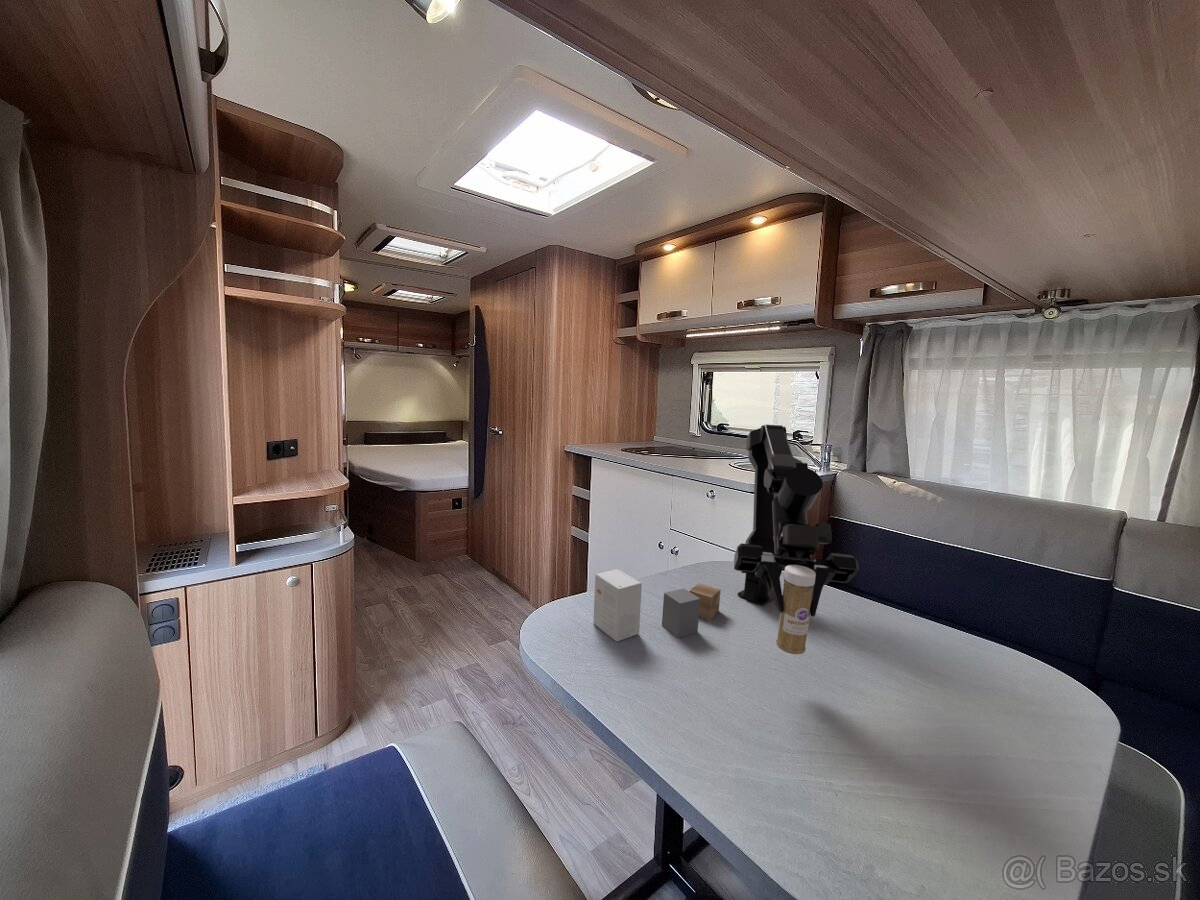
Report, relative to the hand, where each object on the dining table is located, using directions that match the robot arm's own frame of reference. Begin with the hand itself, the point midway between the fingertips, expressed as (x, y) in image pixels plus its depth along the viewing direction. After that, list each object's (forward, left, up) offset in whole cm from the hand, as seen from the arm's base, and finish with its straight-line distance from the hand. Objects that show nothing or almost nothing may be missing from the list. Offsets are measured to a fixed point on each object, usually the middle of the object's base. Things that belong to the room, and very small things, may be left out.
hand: (797, 613), depth 74 cm
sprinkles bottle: (-1, -1, -7) cm, 7 cm away
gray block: (-2, -23, -13) cm, 26 cm away
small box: (+8, -31, -13) cm, 35 cm away
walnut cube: (-12, -24, -13) cm, 30 cm away
